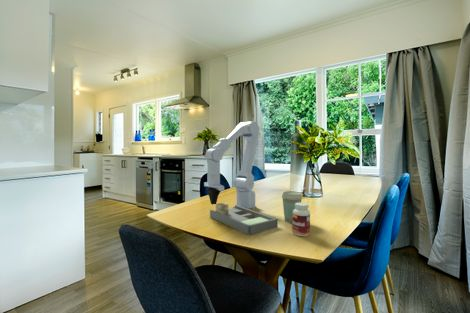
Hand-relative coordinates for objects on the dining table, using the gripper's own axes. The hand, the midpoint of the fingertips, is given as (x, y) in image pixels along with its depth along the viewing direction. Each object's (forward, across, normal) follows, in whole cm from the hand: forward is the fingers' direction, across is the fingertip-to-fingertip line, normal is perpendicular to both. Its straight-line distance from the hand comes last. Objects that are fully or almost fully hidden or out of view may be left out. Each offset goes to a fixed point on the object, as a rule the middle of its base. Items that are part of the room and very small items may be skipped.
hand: (213, 203), depth 114 cm
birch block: (+3, +7, 0) cm, 8 cm away
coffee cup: (+5, +28, +22) cm, 36 cm away
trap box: (+5, +16, +4) cm, 17 cm away
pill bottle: (+5, +40, +13) cm, 42 cm away
